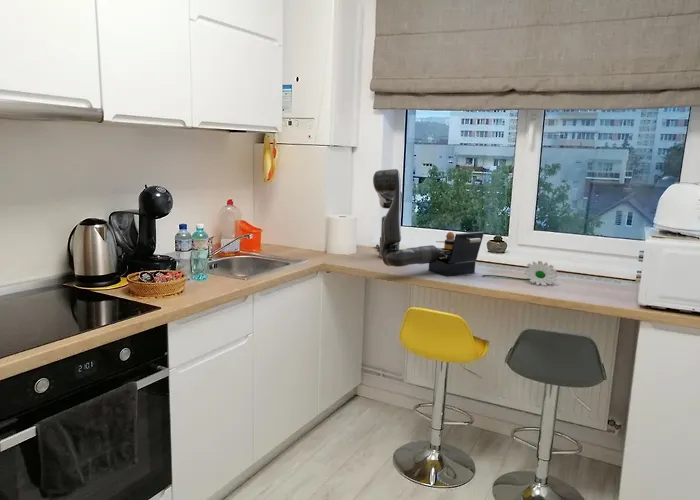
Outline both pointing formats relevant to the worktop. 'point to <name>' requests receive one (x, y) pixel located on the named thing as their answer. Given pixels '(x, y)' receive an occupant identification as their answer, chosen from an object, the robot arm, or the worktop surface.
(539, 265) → the flower
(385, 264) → the robot arm
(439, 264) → the black box
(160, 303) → the worktop surface
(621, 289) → the worktop surface
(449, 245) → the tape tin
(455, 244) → the lid
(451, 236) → the toy
